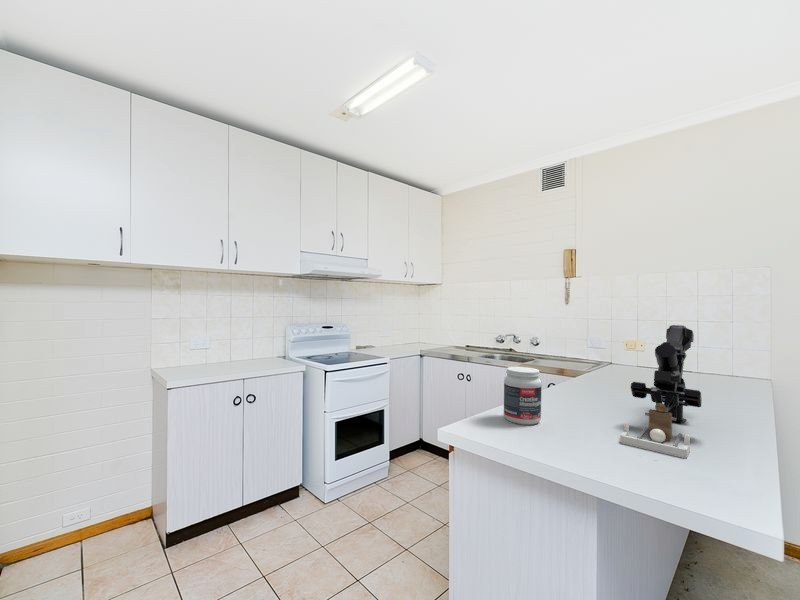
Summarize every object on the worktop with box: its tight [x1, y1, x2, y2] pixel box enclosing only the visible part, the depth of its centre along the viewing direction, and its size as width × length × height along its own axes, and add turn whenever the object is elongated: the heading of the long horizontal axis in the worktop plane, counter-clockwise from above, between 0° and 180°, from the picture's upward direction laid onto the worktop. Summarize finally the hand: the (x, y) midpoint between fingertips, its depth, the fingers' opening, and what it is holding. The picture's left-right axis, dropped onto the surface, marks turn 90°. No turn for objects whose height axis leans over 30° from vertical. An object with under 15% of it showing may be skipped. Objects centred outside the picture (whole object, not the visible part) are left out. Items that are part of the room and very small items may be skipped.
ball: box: [649, 429, 666, 444], centre depth 115 cm, size 4×4×4 cm
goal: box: [619, 421, 691, 459], centre depth 110 cm, size 7×16×5 cm, turn 47°
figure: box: [644, 402, 676, 442], centre depth 118 cm, size 4×8×11 cm, turn 47°
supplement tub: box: [503, 366, 542, 426], centre depth 136 cm, size 13×13×18 cm
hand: (661, 415), depth 120 cm, fingers closed
